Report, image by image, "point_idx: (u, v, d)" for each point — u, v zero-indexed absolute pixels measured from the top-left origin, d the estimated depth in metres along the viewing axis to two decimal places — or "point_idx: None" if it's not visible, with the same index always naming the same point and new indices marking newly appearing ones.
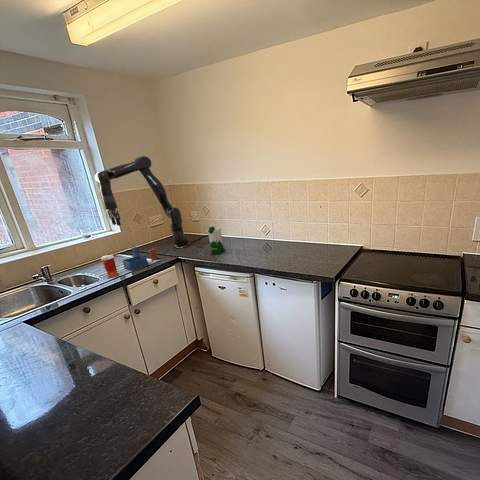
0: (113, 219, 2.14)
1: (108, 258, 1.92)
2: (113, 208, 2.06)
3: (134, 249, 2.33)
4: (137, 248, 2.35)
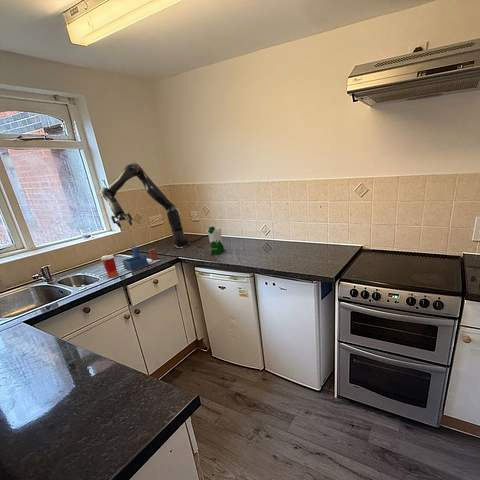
0: (128, 221, 2.37)
1: (108, 258, 1.92)
2: (114, 214, 2.34)
3: (134, 249, 2.33)
4: (137, 248, 2.35)
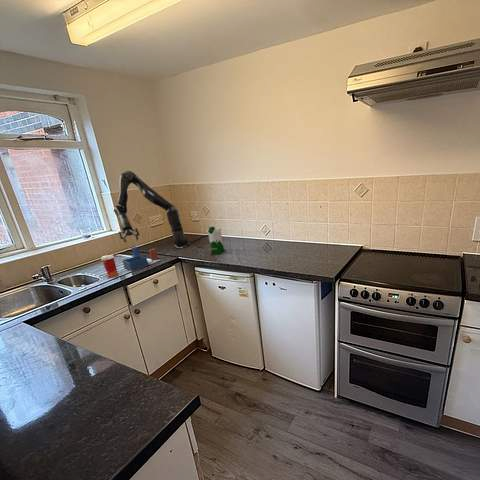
0: (135, 235, 2.43)
1: (108, 258, 1.92)
2: None
3: (134, 249, 2.33)
4: (137, 248, 2.35)
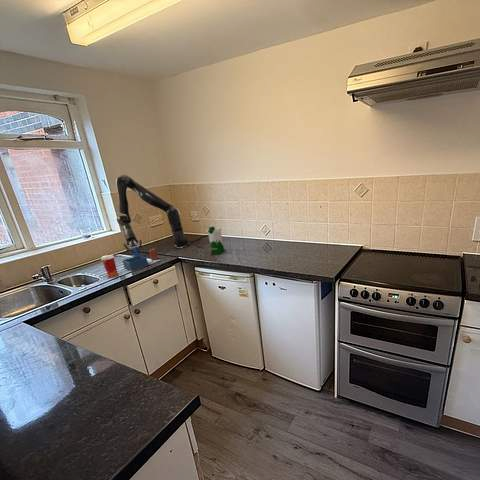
0: None
1: (108, 258, 1.92)
2: None
3: (134, 249, 2.33)
4: (137, 248, 2.35)
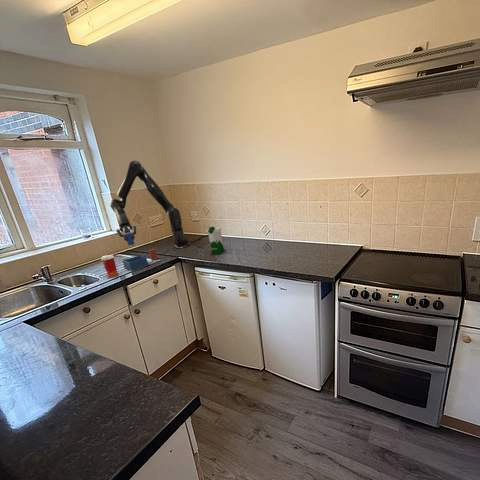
0: None
1: (108, 258, 1.92)
2: None
3: (128, 235, 2.15)
4: (131, 234, 2.17)
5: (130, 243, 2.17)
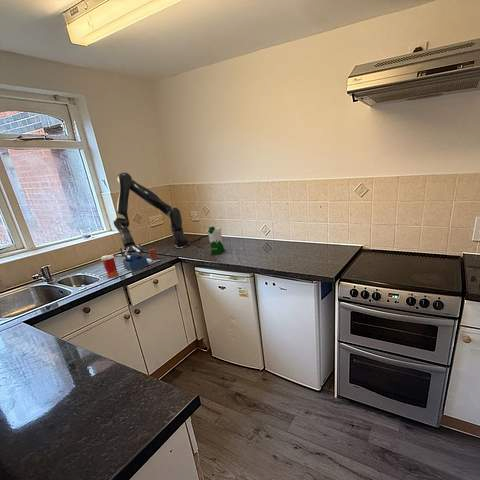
0: (138, 252, 2.14)
1: (108, 258, 1.92)
2: (124, 246, 2.13)
3: (133, 257, 2.10)
4: (136, 255, 2.12)
5: None
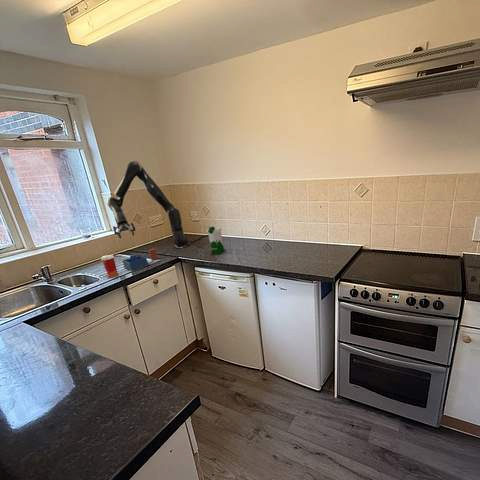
0: (131, 231, 2.22)
1: (108, 258, 1.92)
2: (117, 224, 2.21)
3: (133, 257, 2.10)
4: (136, 255, 2.12)
5: None
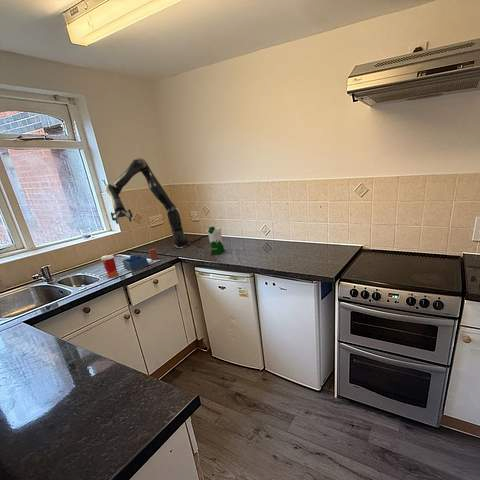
0: None
1: (108, 258, 1.92)
2: None
3: (133, 257, 2.10)
4: (136, 255, 2.12)
5: None
